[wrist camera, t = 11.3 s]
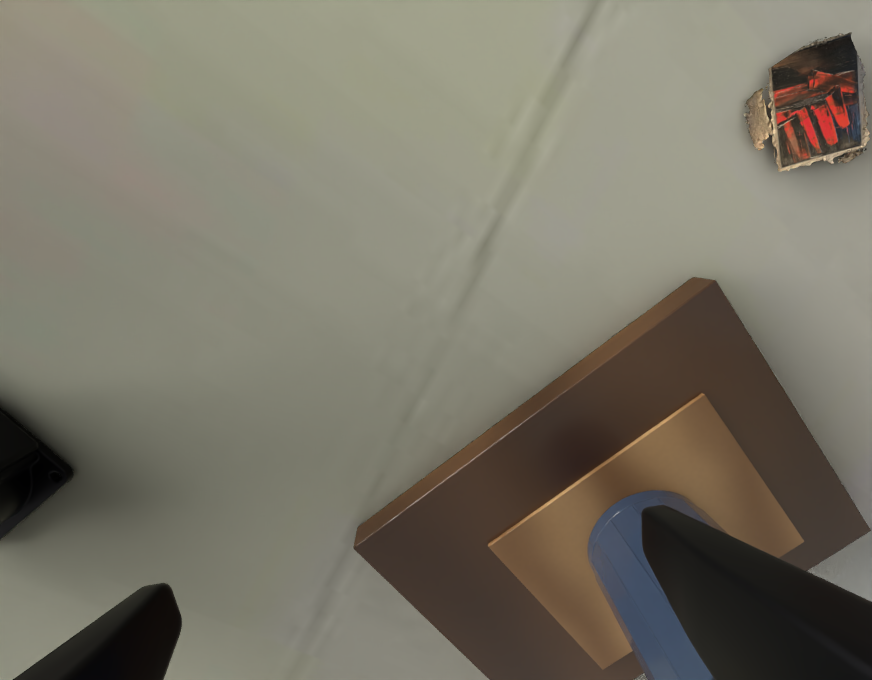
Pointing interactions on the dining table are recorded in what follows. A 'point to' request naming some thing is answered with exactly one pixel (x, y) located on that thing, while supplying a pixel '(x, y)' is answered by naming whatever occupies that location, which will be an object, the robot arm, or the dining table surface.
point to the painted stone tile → (813, 105)
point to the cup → (644, 587)
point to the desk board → (607, 491)
